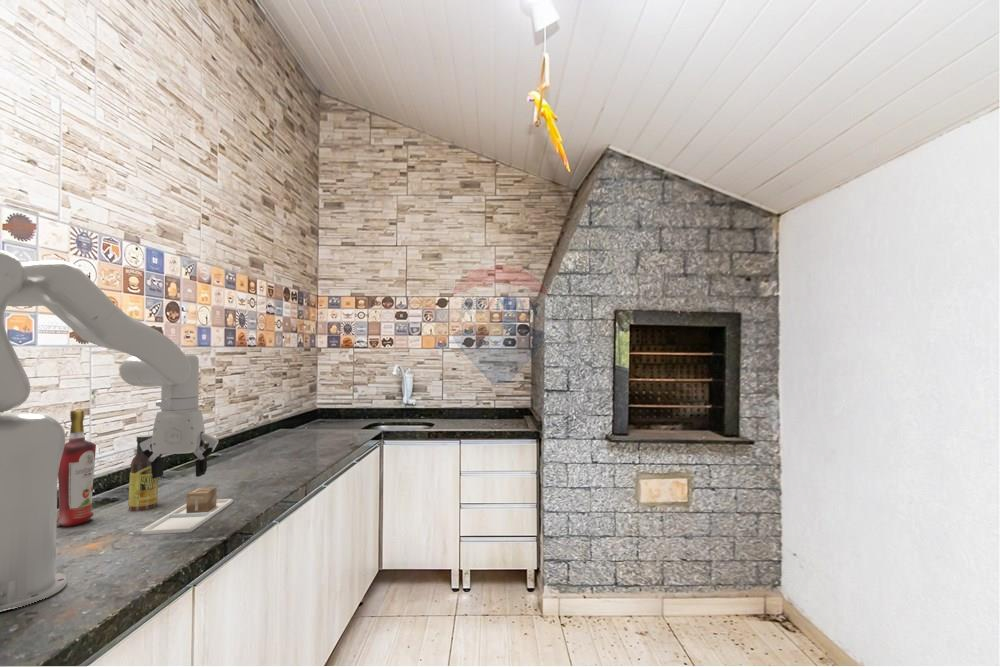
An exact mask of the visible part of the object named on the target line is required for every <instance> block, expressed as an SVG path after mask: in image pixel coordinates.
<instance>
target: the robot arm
mask: <svg viewBox="0 0 1000 667" xmlns="http://www.w3.org/2000/svg"><path fill="white" fill-rule="evenodd" d="M41 306H42V307H45V308H46V309H48V310H49V311H50V312H51V313H53V315H55V316H56V317H57V318H59V320H61V321H62V322H63V323H65V325H66V326H68V327H69V328H70V329H71V330H72V331H73V332H74V333H75V334H77V336H79V337H80V339H82V340H84V341H86V342H88V343H91V344H93V345H97V346H99V347H101V348H106V349H109V350H113V351H118V352H121V353H124V354H126V355H129V357H127V358H126V359H125V360H124V361H123V362H122V363H121V364H120V367H119V376H120V378H121V379H122V380H123V381H124V382H125V383H127V384H128V385H131V386H133V387H141V388H142V387H143V388H145V387H146V388H148V387H149V388H151V387H152V388H153V387H160V388H161V391H160V392H161V394H160V395H161V398H160V400H157V401H156V402H155V406H156V407H160V409H159V410H160V411H157V412H156V414H155V418H154V422H153V427H152V428H153V429H152V434H151V435H152V437H151V438H149V439H147V440H145V441H143V442H141V443H140V447H141V449H142V450H143V451H144V455H145V456H146V457H148V458H149V461H150V462H151V473H152V478H153V479H155V478H158V479H159V478H160V477H162V476H163V475H164V458H162V457H163V455H174V454H175V455H176V454H179V455H180V454H181V455H182V454H191V453H193V454H194V455H195V456H196V458H197V459H196V460H195V476H196V478H199V477H201V476H203V475H205V474H206V472H207V468H208V458H209V456H210V455H212V453H213V452H215V450H216V447H217V445H218V444H219V439H218V438H216V437H214V436H211V435H210V434H207V433H206V432H205V431H206V430H205V422H204V416H203V413H202V409H199V403H200V402H199V401H200V400H199V392H200V390H199V389H200V387H199V386H200V385H199V383H200V382H199V380H200V378H199V376H200V375H199V374H200V372H199V370H200V360H199V357H198V356H197V355H195V354H189V353H188V354H185V353H184V351H182V349H181V348H180V347H179V346H178V345H177V344H176V343H175V342H174V341H173V340H172V339H171V338H169V337H168V336H166V335H165V334H163V332H160V331H159V330H157V329H155V328H154V327H151V326H149V325H148V324H145V323H144V322H142V321H140V320H138V319H136V318H134V317H132V316H130V315H128V314H127V313H125V312H124V311H123V310H122V309H120V307H119V306H118V305H117V304H116V303H115V302H114V301H113V300H111V298H110V297H109V296H108V295H107V294H105V292H104V291H103V290H101V288H100V287H99V286H97V284H95V282H93V281H92V280H91V279H90V278H89V277H88V275H86V274H85V273H84V272H83V271H82V270H81V269H80V268H79V267H77V265H74V264H73V263H70V262H67V261H62V260H40V261H38V260H37V261H25V262H22V261H21V260H20V259H19V258H18V257H17V256H15V255H14V254H12V253H10V252H9V251H4V250H2V249H0V610H3V609H8V608H13V607H19V606H24V605H27V604H30V605H32V604H31V603H33V604H35V603H34V602H36V603H38V602H37V601H39V600H41V601H42V599H43V600H45V598H46V599H48V598H49V597H52V596H53V595H55V594H57V593H58V592H60V591H61V590H63V589H64V588H65V587H66V585H67V583H68V577H67V575H66V574H64V573H62V572H57V569H56V564H57V562H56V561H57V523H58V522H57V520H58V472H59V466H60V461H61V458H62V454H63V451H64V447H65V444H66V433H65V432H66V431H65V429H64V427H63V426H62V425H61V423H60V422H59V421H57V420H56V419H55V418H53V417H51V416H49V415H46V414H41V413H36V412H35V413H34V412H7V411H11V410H14V409H16V408H18V407H20V406H21V405H23V404H24V403H25V402H26V401H27V399H29V396H30V393H31V382H30V380H29V377H28V375H27V373H26V371H25V369H24V367H23V364H22V363H21V361H20V359H19V357H18V355H17V353H16V351H15V348H14V347H13V345H12V343H11V341H10V339H9V337H8V333H7V330H6V328H5V324H4V322H5V321H4V316H5V312H6V309H7V307H41ZM206 442H207V443H208V446H207V448H206V449H205V444H206ZM150 444H152V449H151V447H150ZM39 602H40V601H39ZM27 606H28V605H27ZM24 607H25V606H24Z"/></svg>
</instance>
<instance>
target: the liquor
mask: <svg viewBox="0 0 1000 667" xmlns="http://www.w3.org/2000/svg"><path fill="white" fill-rule="evenodd" d="M85 412H86V411H85V409H74V410H70V415H69V416H70V417H69V418H70V423H71V424H70V432H69V439H68V442H65V447H64V451H63V454H62V458H61V461H60V466H59V472H58V482H57V485H58V501H59V502H58V514H59V515H58V517H57V523H58V524H59V525H61V526H63V527H74V526H80V525H83V524H85V523H87V522H88V521H89V520H90V519H92V517H94V513H93V512H92V505H93V504H92V503H93V489H94V488H93V484H94V476H95V465H96V453H97V452H96V450H97V444H96V443H93V442H92V441H89V440H86V438H85V429H84V428H85V427H84V421H85V414H86V413H85Z"/></svg>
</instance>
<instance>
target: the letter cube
mask: <svg viewBox="0 0 1000 667" xmlns="http://www.w3.org/2000/svg"><path fill="white" fill-rule="evenodd" d="M217 488H218V487H215V486H214V487H213V486H212V487H196V488H195V489H193V490H190V491H189V492H187V493H186V503H185V504H186V513H201V512H208V511H210V510H211V509H213V508H214V507H216V500H217V493H218V492H217Z"/></svg>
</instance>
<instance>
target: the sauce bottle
mask: <svg viewBox="0 0 1000 667" xmlns="http://www.w3.org/2000/svg"><path fill="white" fill-rule="evenodd" d="M152 435H153V434H146V435H145V434H144V435H143V434H142V435H137V436H136V444H137V445H136V454H135V456H134V457H133V458H132V460H131V462H130V471H129V482H128V483H129V485H128V504H127V505H128V511H129V512H141V511H146V510H151V509H154V508H155V507H156V506H157V503H158V490H159V477H158V478H155V479H153V478H152V473H151V462H150V461H149V458H148V457H146V456H145V455H144V451H143V450H142V449H141V447H140V443H141V442H143V441H145V440H147V439H149V438H151V437H152ZM150 447H151V449H152V444H150Z"/></svg>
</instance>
